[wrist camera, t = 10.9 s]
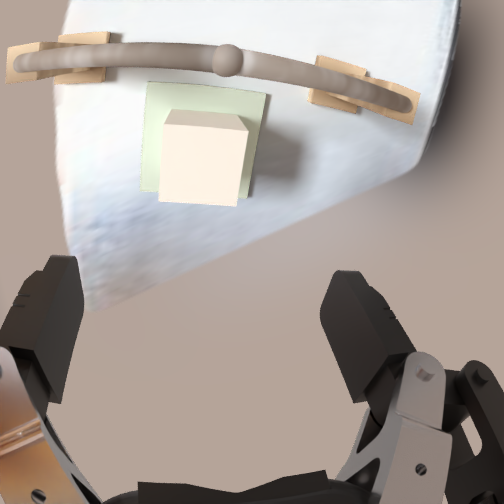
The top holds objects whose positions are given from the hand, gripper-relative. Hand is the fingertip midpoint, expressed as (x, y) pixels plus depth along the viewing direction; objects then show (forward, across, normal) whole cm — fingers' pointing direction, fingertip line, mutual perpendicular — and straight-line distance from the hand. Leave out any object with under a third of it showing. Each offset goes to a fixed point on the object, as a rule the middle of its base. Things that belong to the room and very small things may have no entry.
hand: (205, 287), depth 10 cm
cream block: (+17, 0, 0) cm, 17 cm away
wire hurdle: (+18, 0, -6) cm, 19 cm away
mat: (+18, 0, 0) cm, 18 cm away
